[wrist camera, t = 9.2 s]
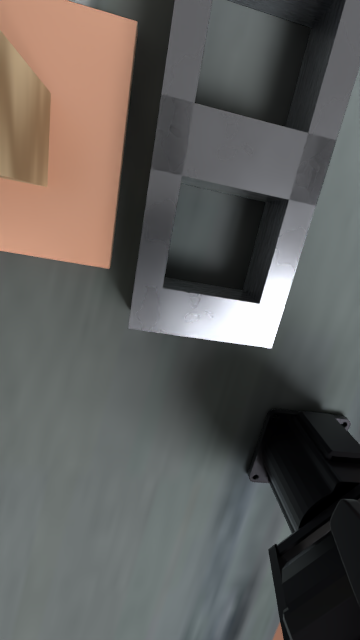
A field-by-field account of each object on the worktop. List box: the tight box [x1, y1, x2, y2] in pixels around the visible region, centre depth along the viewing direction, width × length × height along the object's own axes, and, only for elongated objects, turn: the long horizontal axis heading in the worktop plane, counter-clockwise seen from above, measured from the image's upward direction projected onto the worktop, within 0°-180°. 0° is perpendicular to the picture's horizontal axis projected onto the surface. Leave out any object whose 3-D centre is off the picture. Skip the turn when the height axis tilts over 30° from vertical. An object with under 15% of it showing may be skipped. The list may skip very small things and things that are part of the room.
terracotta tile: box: [0, 0, 138, 269], centre depth 14 cm, size 11×11×1 cm
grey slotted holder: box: [128, 0, 360, 348], centre depth 15 cm, size 18×8×3 cm, turn 169°
